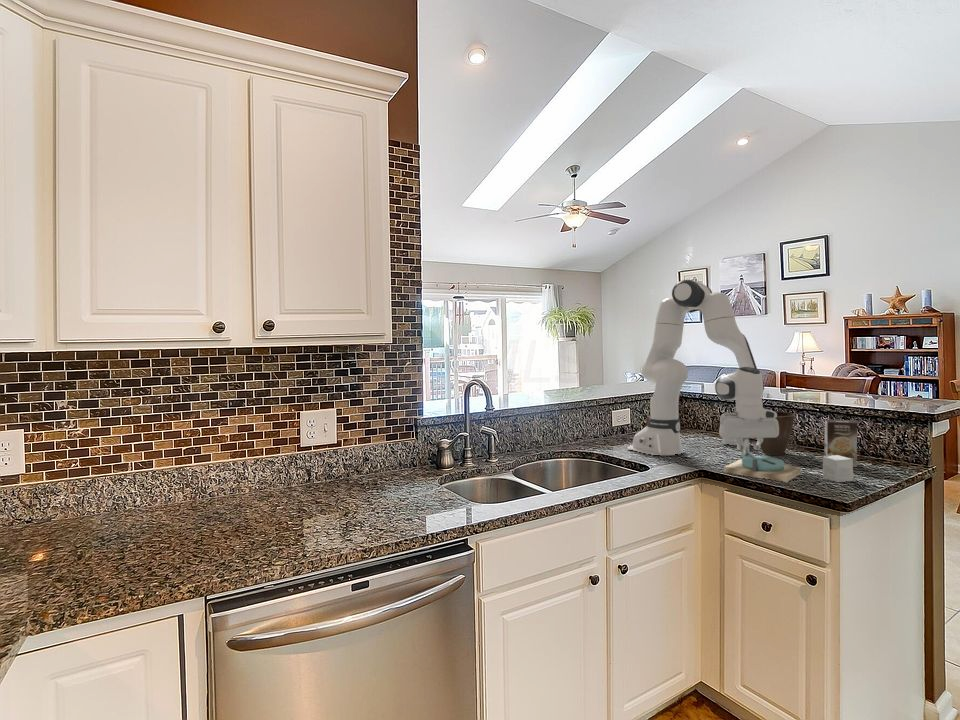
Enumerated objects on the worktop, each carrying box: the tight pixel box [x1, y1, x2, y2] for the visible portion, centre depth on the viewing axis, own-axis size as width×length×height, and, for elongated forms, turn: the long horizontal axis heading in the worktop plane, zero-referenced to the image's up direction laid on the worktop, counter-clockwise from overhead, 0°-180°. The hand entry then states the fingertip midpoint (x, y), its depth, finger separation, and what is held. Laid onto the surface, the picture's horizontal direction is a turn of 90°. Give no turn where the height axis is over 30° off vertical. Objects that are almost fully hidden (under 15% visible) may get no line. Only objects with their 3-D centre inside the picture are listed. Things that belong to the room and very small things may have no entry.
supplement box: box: [721, 415, 742, 446], centre depth 235 cm, size 7×7×13 cm
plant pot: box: [760, 410, 795, 456], centre depth 215 cm, size 15×15×16 cm
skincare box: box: [822, 455, 854, 483], centre depth 177 cm, size 6×6×7 cm
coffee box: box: [823, 418, 858, 467], centre depth 194 cm, size 9×6×16 cm
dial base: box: [723, 458, 802, 483], centre depth 188 cm, size 20×14×6 cm
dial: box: [741, 438, 785, 471], centre depth 190 cm, size 17×13×8 cm
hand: (748, 449), depth 197 cm, fingers open, 5 cm apart
